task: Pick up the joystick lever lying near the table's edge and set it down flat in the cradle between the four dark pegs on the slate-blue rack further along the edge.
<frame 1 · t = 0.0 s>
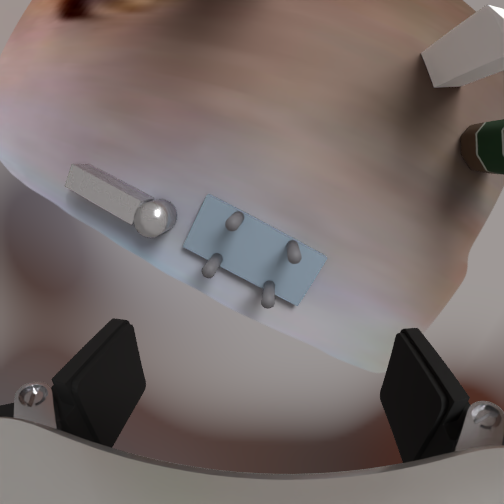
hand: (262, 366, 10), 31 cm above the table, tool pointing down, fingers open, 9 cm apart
beer bottle: (475, 149, 34), on the table
rack: (254, 250, 41), on the table
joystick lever: (115, 190, 40), on the table
milk: (441, 70, 31), on the table
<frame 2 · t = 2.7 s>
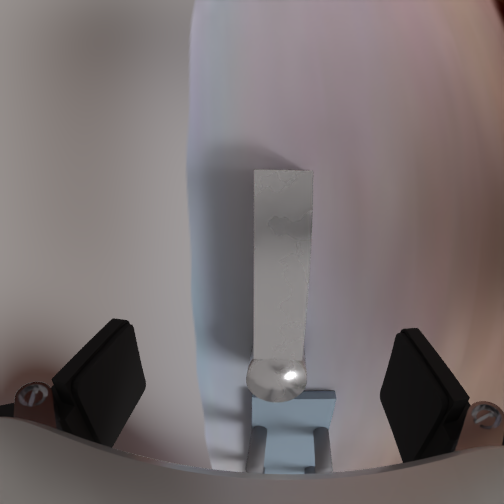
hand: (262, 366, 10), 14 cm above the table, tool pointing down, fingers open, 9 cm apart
rack: (287, 444, 29), on the table
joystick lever: (282, 256, 23), on the table
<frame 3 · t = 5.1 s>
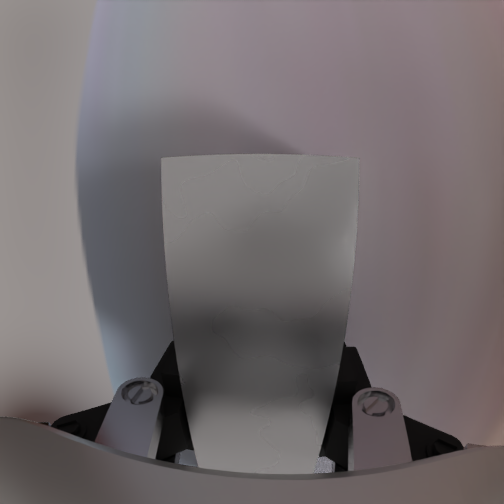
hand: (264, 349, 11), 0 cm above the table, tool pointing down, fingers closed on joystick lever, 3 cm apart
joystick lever: (264, 344, 11), on the table, touching gripper
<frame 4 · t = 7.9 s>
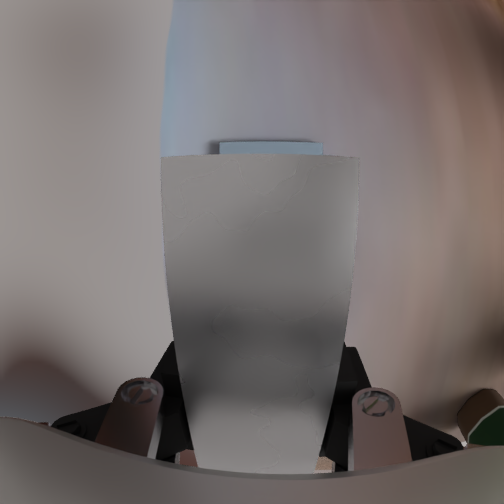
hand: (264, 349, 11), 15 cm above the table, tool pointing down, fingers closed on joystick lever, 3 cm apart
beer bottle: (475, 405, 29), on the table
rack: (270, 251, 25), on the table
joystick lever: (264, 344, 11), point 15 cm above the table, touching gripper
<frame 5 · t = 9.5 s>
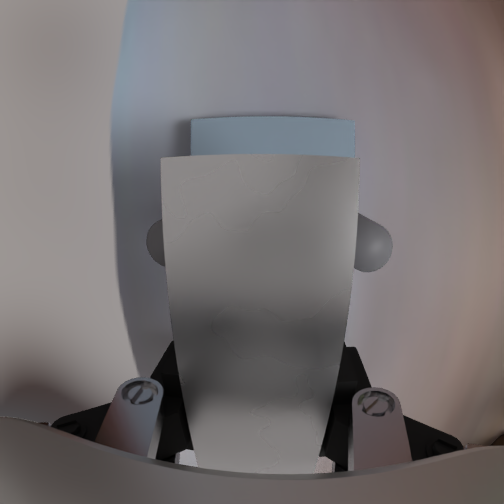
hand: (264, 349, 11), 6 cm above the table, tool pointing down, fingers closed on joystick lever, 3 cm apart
beer bottle: (501, 443, 20), on the table
rack: (271, 286, 17), on the table
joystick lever: (264, 345, 11), point 6 cm above the table, touching gripper
when the fingers open (3 cm above the table, at t = 10.9 s): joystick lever drops 1 cm, resting on rack.
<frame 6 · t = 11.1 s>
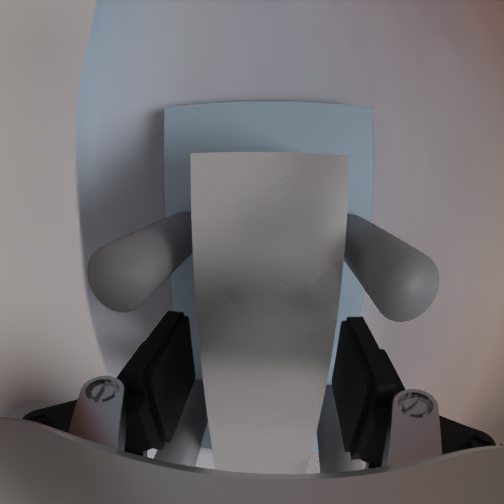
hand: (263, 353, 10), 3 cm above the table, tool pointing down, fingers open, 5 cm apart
rack: (266, 314, 13), on the table
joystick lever: (269, 323, 12), point 1 cm above the table, touching rack
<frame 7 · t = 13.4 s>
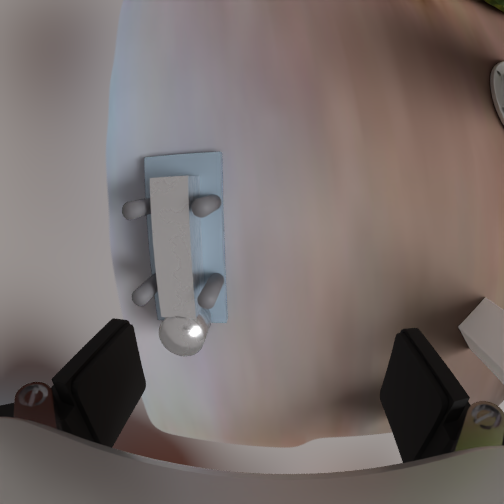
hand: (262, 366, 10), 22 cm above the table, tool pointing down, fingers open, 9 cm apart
rack: (187, 240, 31), on the table
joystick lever: (185, 240, 30), point 1 cm above the table, touching rack
milk: (476, 323, 32), on the table
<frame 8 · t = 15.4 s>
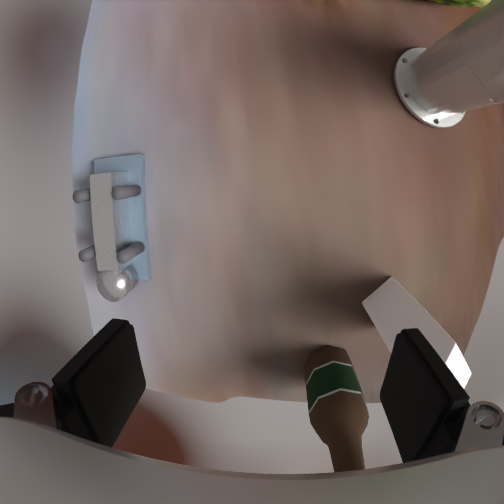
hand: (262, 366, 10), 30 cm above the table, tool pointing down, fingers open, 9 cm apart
beer bottle: (327, 363, 44), on the table
rack: (122, 218, 40), on the table
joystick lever: (119, 218, 39), point 1 cm above the table, touching rack
milk: (386, 301, 40), on the table
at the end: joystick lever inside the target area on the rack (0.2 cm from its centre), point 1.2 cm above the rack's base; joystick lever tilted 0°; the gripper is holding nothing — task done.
